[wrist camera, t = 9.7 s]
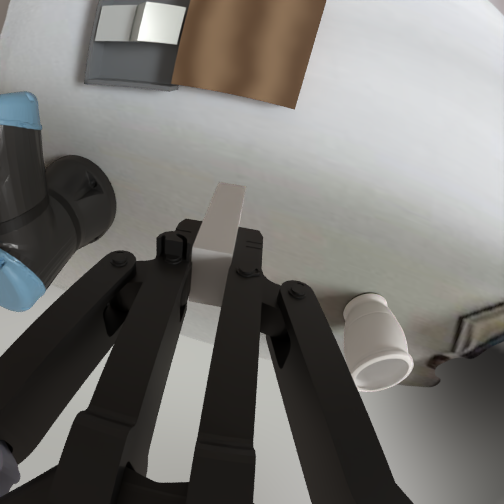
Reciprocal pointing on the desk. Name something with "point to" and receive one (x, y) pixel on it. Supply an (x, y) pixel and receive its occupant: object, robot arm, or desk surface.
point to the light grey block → (116, 23)
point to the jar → (374, 344)
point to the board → (248, 47)
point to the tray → (132, 56)
